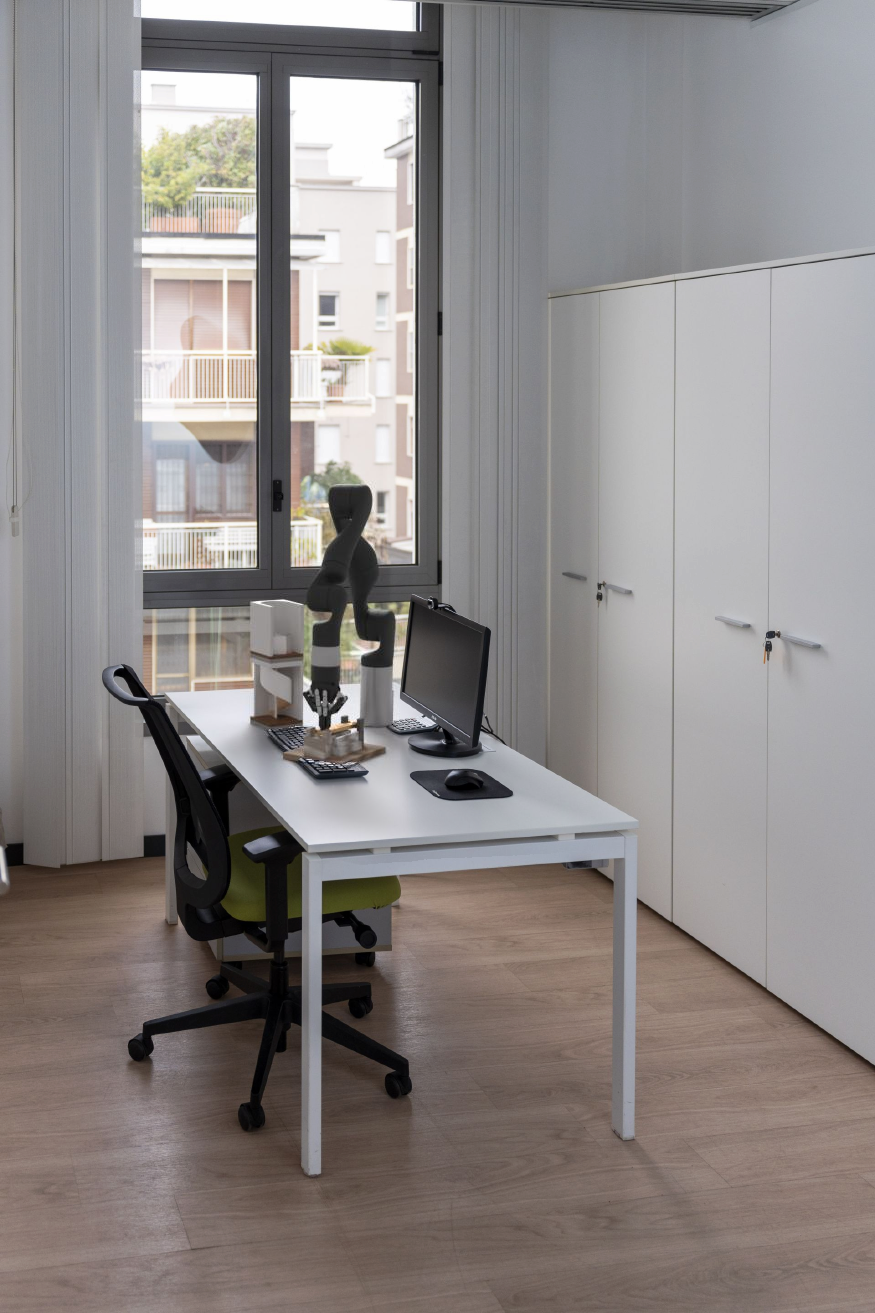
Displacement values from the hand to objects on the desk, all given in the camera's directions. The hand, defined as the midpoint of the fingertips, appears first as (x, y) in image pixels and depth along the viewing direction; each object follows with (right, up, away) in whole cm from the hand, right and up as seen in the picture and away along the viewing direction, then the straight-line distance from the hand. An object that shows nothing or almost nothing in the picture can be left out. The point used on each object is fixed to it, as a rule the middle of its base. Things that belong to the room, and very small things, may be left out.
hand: (324, 729), depth 339 cm
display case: (-17, -1, +38) cm, 42 cm away
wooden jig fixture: (+2, -7, +6) cm, 9 cm away
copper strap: (+3, -1, +5) cm, 6 cm away
